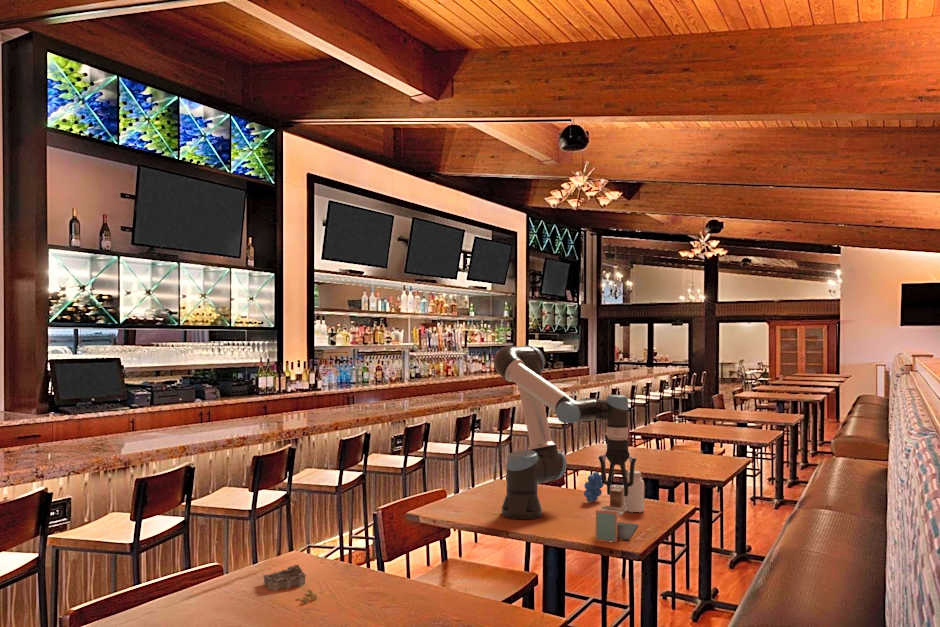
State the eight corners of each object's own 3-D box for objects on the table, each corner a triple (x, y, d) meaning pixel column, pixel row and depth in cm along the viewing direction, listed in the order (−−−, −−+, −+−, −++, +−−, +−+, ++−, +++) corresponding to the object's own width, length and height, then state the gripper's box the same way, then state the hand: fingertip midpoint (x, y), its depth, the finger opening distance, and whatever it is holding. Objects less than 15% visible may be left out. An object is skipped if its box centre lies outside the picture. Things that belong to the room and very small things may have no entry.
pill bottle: (642, 508, 294) (643, 470, 294) (645, 513, 286) (645, 474, 286) (622, 507, 295) (622, 469, 295) (624, 512, 287) (624, 473, 287)
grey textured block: (300, 578, 210) (300, 563, 210) (307, 586, 203) (308, 571, 203) (261, 583, 205) (262, 568, 205) (268, 592, 198) (268, 577, 198)
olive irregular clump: (310, 596, 197) (310, 589, 197) (321, 601, 194) (321, 594, 194) (293, 601, 194) (293, 593, 194) (304, 606, 190) (304, 599, 190)
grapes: (593, 497, 311) (594, 468, 311) (607, 500, 306) (607, 471, 306) (576, 502, 303) (576, 472, 303) (589, 505, 298) (590, 475, 298)
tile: (595, 540, 249) (595, 510, 249) (596, 539, 251) (596, 509, 251) (616, 543, 247) (616, 512, 247) (617, 541, 248) (617, 511, 249)
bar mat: (599, 537, 253) (599, 535, 253) (610, 523, 272) (610, 521, 272) (629, 541, 249) (629, 539, 249) (638, 526, 268) (638, 524, 268)
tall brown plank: (610, 500, 275) (610, 484, 275) (632, 502, 272) (632, 486, 272) (598, 513, 254) (598, 495, 255) (622, 515, 252) (622, 497, 252)
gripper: (592, 438, 266) (592, 504, 266) (639, 441, 260) (639, 509, 260) (596, 436, 273) (596, 500, 273) (642, 438, 267) (642, 504, 267)
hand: (617, 504), depth 266 cm, fingers closed on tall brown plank, 3 cm apart
